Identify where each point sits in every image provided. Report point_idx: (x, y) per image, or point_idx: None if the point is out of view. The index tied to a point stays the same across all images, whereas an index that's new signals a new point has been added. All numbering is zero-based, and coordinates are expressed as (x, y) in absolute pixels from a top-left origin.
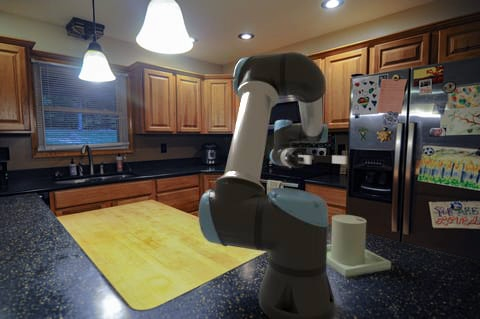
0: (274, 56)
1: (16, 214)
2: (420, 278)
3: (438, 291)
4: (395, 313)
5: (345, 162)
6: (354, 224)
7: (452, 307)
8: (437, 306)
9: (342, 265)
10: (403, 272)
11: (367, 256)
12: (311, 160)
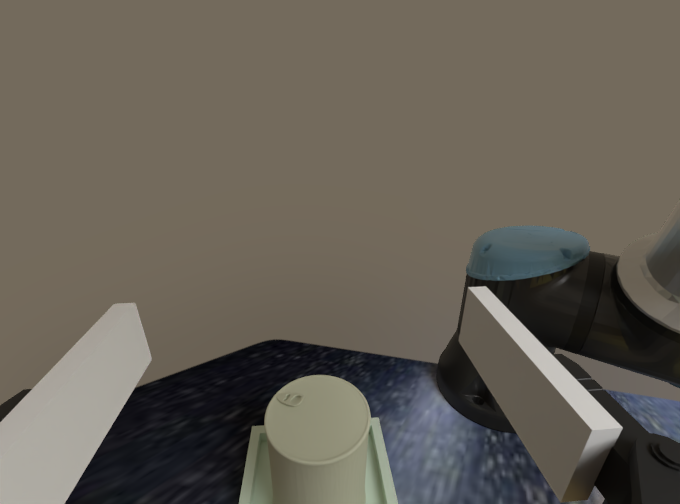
0: None
1: None
2: (238, 400)
3: (257, 371)
4: (362, 353)
5: (146, 348)
6: (335, 378)
7: (282, 348)
8: (298, 352)
9: (374, 434)
10: (243, 422)
11: (253, 495)
12: (463, 319)
